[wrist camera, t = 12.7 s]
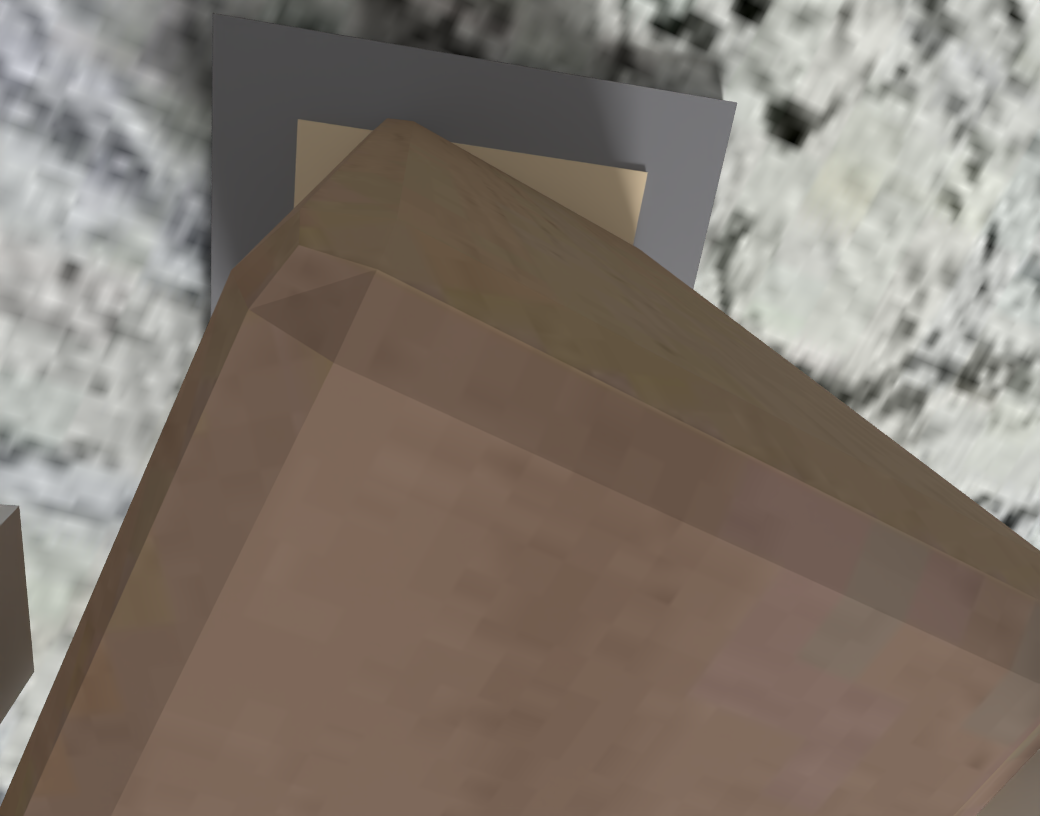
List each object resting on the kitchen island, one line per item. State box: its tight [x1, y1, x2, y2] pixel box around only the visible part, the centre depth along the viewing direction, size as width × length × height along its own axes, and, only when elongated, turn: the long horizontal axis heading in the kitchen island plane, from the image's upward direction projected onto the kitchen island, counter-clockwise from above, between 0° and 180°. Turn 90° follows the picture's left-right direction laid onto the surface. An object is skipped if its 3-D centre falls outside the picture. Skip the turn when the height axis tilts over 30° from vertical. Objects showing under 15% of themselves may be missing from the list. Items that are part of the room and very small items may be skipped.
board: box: [211, 13, 737, 316], centre depth 27 cm, size 16×16×1 cm
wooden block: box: [0, 118, 1040, 816], centre depth 17 cm, size 10×10×20 cm
